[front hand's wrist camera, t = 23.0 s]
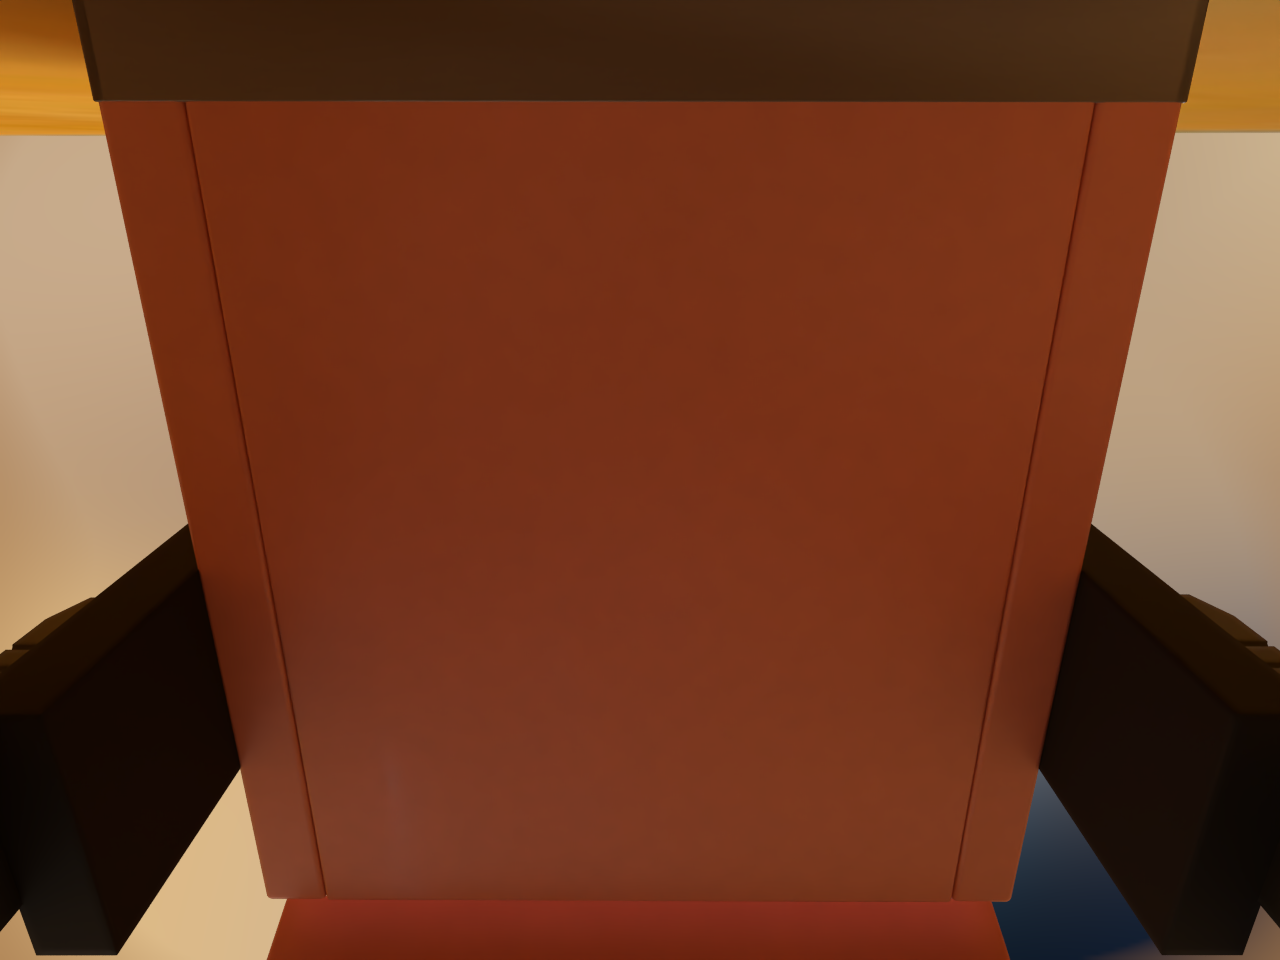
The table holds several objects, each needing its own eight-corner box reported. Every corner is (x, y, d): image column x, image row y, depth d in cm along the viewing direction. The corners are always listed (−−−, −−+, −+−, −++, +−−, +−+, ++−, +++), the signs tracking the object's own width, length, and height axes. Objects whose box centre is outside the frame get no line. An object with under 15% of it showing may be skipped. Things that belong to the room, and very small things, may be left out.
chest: (841, 104, 20) (809, 498, 24) (443, 103, 20) (473, 498, 24) (1214, -19, 7) (1013, 905, 11) (66, -19, 7) (264, 901, 11)
